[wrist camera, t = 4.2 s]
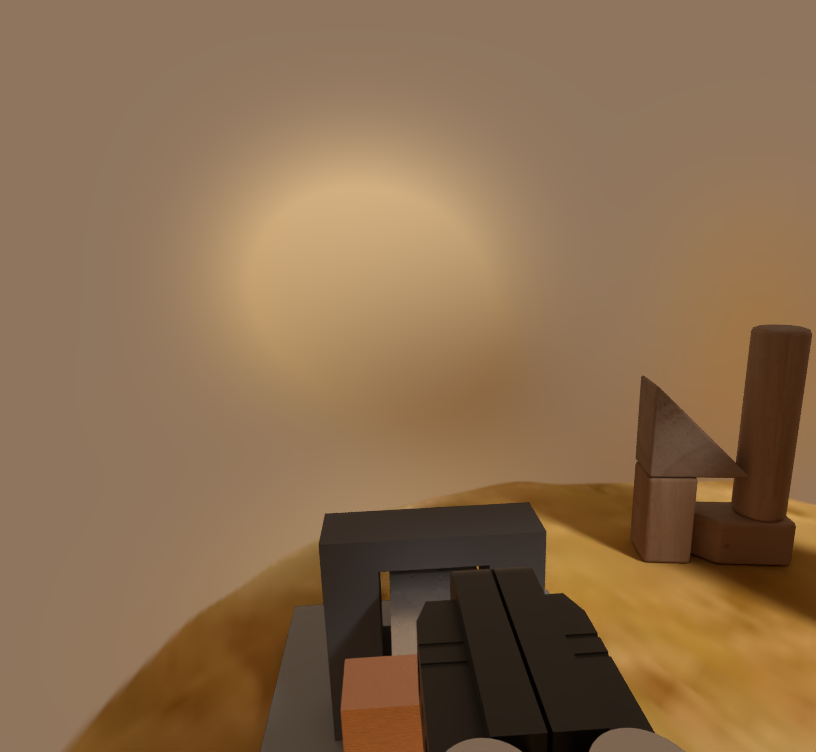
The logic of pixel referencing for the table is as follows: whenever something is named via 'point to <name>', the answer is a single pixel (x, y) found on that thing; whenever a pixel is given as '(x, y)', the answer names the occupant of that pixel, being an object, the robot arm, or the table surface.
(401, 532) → the rubber collar
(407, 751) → the sliding block
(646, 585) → the table surface
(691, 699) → the table surface
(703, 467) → the wooden block
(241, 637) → the table surface
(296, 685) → the base plate
